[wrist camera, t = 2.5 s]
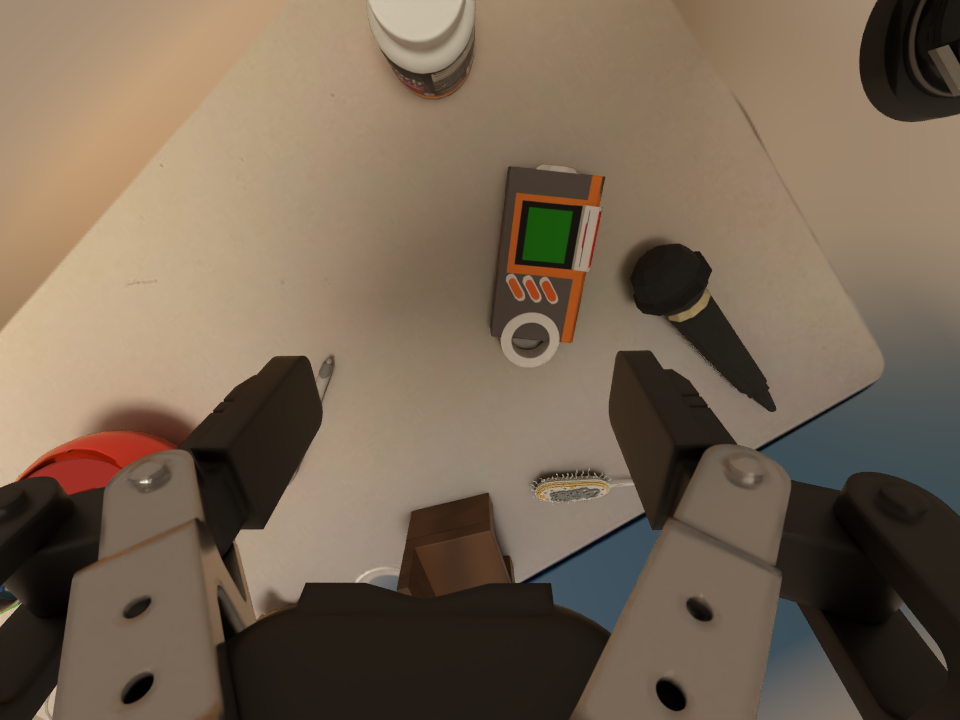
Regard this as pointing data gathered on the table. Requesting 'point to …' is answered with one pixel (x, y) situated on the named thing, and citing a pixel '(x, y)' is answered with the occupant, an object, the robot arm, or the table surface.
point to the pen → (321, 386)
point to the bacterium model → (573, 488)
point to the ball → (94, 458)
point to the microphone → (696, 314)
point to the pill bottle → (426, 42)
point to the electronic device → (543, 258)
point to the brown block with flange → (452, 550)
